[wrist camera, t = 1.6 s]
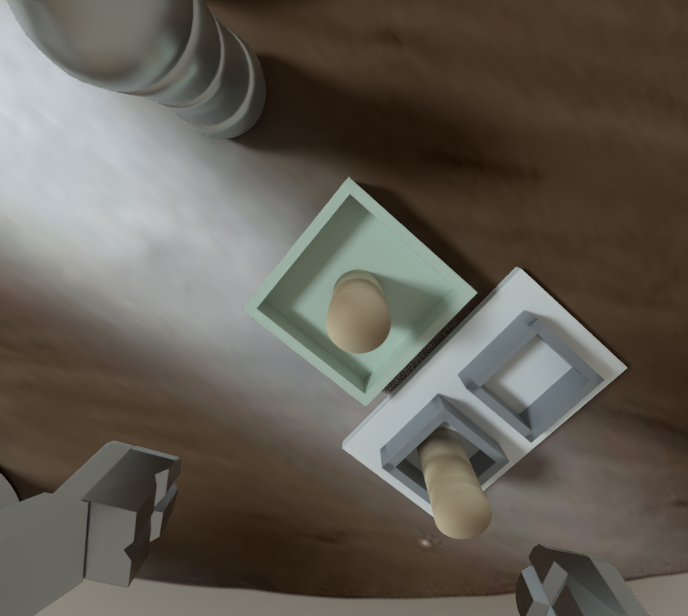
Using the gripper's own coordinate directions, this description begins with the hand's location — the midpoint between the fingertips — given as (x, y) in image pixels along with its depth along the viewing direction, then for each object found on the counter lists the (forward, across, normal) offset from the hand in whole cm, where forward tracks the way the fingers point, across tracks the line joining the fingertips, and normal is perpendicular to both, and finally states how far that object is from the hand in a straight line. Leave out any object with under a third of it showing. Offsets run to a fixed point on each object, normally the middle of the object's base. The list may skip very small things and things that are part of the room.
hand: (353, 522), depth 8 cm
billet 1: (+23, 0, 0) cm, 23 cm away
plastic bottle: (+24, +13, -12) cm, 30 cm away
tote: (+24, 0, 0) cm, 24 cm away
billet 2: (+23, -11, +12) cm, 28 cm away
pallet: (+24, -13, +8) cm, 29 cm away
